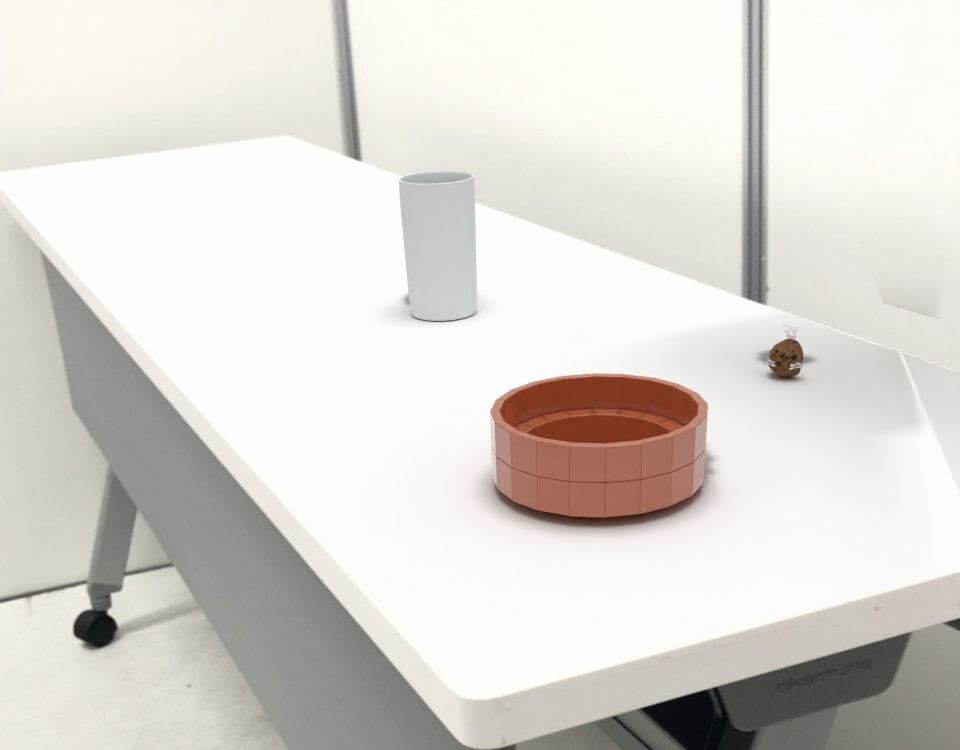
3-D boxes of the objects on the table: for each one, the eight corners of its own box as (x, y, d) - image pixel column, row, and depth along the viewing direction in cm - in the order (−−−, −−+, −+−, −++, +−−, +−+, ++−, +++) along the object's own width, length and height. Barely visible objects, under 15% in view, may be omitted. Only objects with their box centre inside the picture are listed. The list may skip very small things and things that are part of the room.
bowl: (705, 447, 81) (709, 374, 79) (701, 530, 70) (705, 449, 68) (511, 442, 84) (509, 371, 81) (477, 522, 72) (473, 443, 70)
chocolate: (756, 373, 94) (760, 322, 92) (780, 368, 95) (784, 318, 93) (780, 384, 92) (785, 331, 90) (804, 379, 93) (809, 327, 91)
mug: (467, 323, 110) (461, 184, 104) (397, 321, 111) (387, 183, 105) (497, 295, 118) (493, 164, 112) (432, 293, 120) (424, 164, 114)
